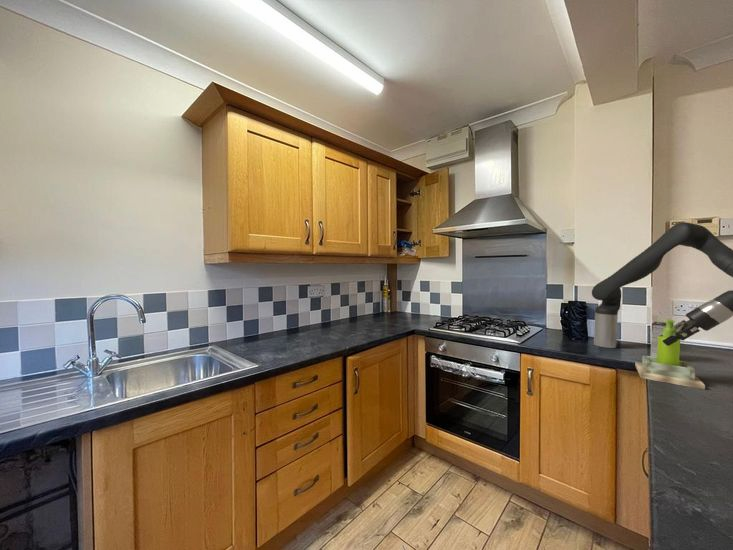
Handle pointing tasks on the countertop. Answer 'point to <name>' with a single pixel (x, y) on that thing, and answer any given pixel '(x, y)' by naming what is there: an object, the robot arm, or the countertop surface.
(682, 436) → the countertop surface
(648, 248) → the robot arm
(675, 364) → the soap dispenser
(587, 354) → the countertop surface
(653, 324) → the coffee box
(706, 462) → the countertop surface
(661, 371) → the dispenser caddy
